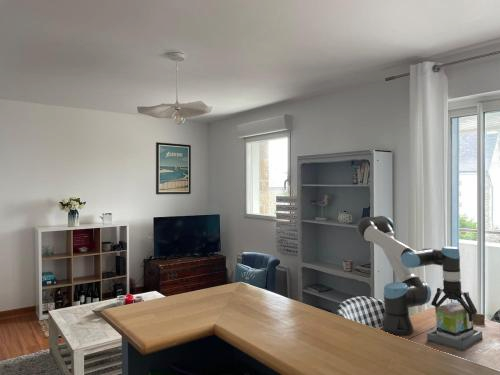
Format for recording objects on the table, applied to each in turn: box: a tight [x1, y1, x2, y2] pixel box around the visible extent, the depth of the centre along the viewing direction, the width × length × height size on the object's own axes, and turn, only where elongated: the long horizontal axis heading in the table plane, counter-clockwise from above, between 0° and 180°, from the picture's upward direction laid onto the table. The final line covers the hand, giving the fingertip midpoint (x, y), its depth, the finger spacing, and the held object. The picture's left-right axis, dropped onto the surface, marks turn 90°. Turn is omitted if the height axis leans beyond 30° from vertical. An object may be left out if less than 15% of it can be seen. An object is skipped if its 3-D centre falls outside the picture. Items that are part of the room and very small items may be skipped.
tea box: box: [435, 301, 475, 342], centre depth 179 cm, size 15×10×15 cm
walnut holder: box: [473, 312, 486, 325], centre depth 197 cm, size 12×19×5 cm, turn 127°
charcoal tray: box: [426, 327, 483, 352], centre depth 179 cm, size 16×21×4 cm
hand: (454, 324), depth 180 cm, fingers open, 13 cm apart
